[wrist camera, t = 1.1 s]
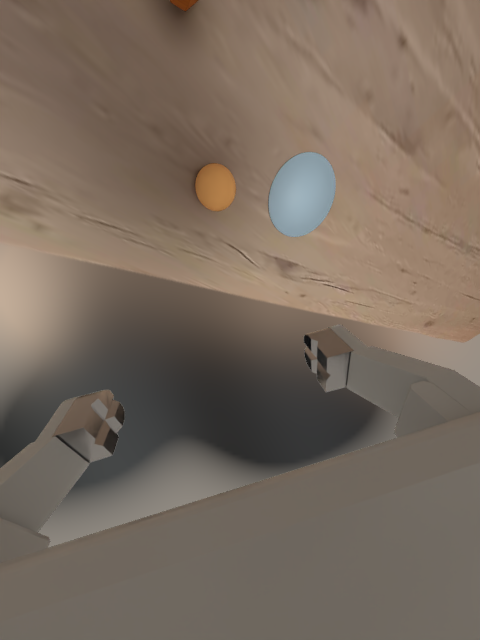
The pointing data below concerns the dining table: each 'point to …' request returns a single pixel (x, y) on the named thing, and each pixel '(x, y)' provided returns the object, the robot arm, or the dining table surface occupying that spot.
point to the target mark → (301, 194)
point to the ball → (215, 187)
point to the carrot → (183, 3)
